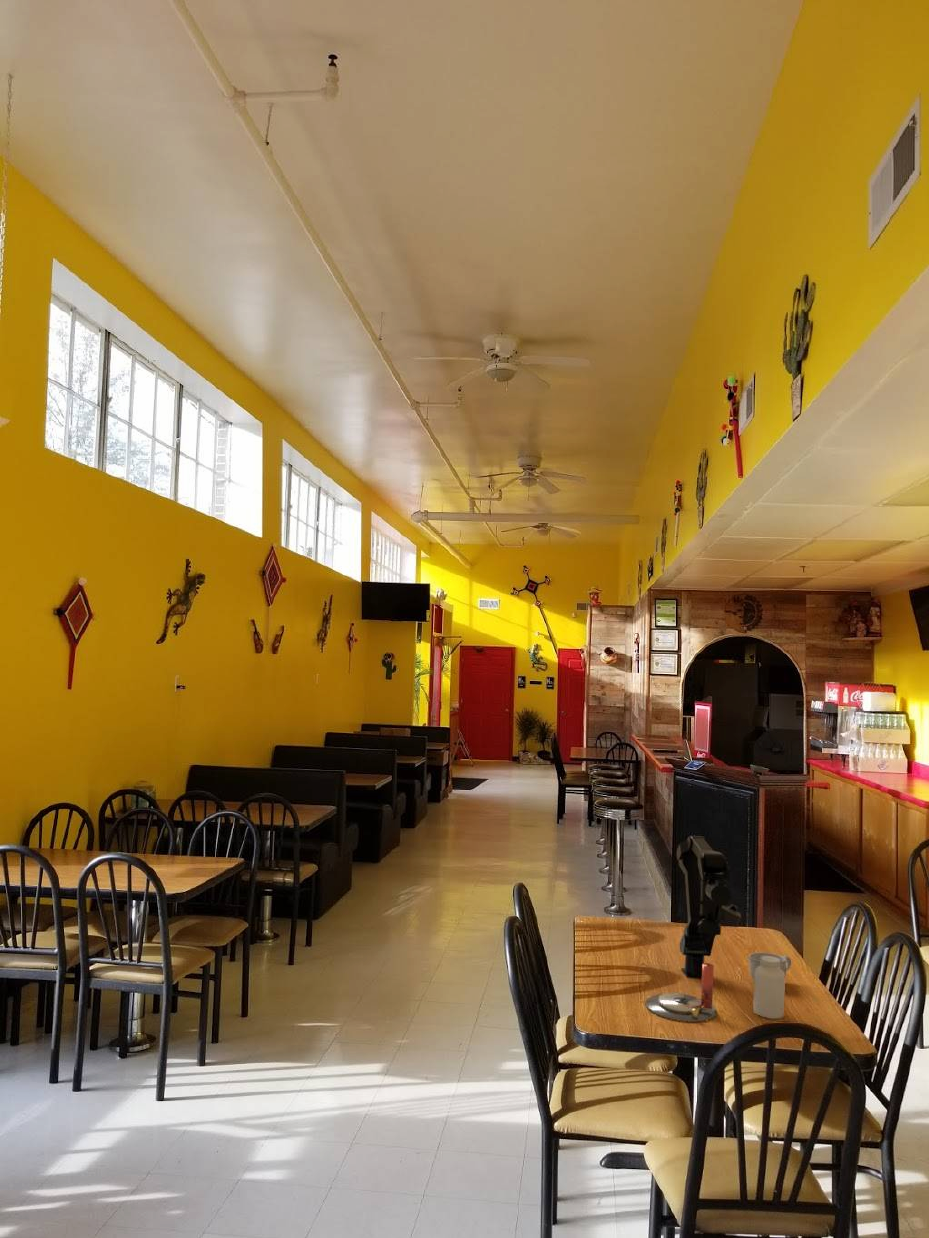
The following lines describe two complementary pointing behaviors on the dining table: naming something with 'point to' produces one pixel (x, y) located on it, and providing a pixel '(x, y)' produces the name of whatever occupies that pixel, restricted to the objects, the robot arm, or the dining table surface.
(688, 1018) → the post plate
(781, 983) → the pill bottle
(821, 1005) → the dining table surface
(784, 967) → the teacup
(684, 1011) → the flange
